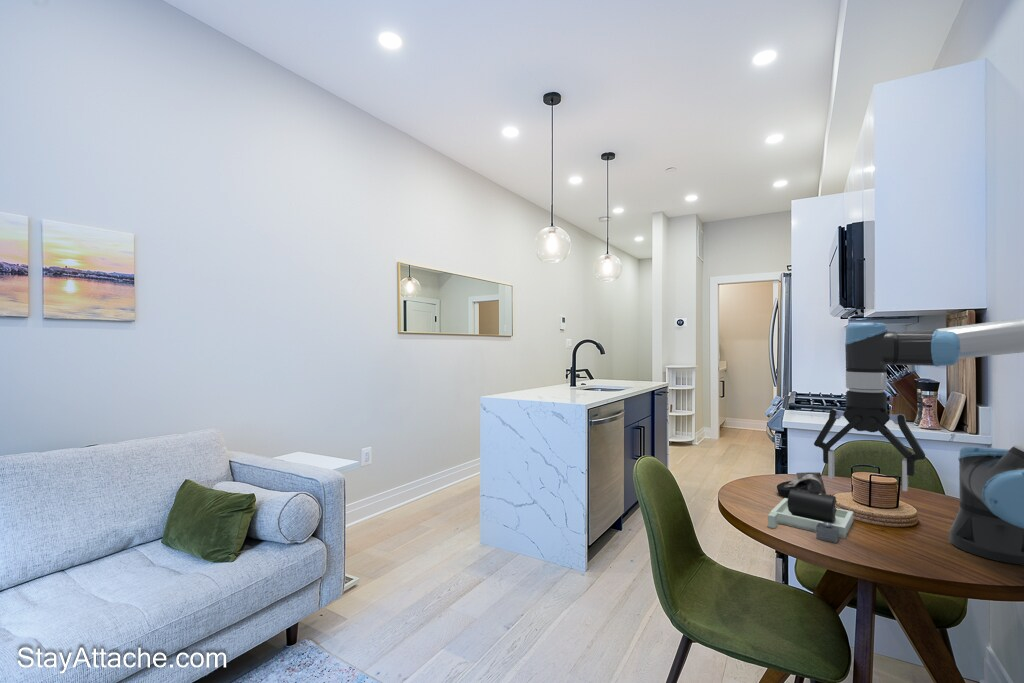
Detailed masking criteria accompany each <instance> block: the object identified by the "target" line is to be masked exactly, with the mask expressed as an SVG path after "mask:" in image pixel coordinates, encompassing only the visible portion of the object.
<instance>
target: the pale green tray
mask: <svg viewBox="0 0 1024 683" xmlns="http://www.w3.org/2000/svg"><path fill="white" fill-rule="evenodd" d="M835 508H836V510H837V511H836V513H835V518H836V520H835V522H834V523H833V524H832V526H837V527H839V539H845V540H846V537H847V535H848V533H849V531H850V529H851V527H852V525H853V523H854V511H852V510H847V509H842V508H837V507H835ZM818 523H823V524H824V522H822V521H818V520H814V519H809V518H805V517H800V516H796V515H792V514H791V512H789V510H788V498H784V497H783V499H781V501H780V502H779V503H778V504H777V505H776V506H774V508H772V509H771V511H770V512H769V513H768V514H767V527H768V528H770V529H776V528H777V527H778V526H779V524H780V525H782V526H783V525H784V526H788V527H793V528H795V529H800V530H806V531H810V532H814V533H816V526H817V525H818Z"/></svg>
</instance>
